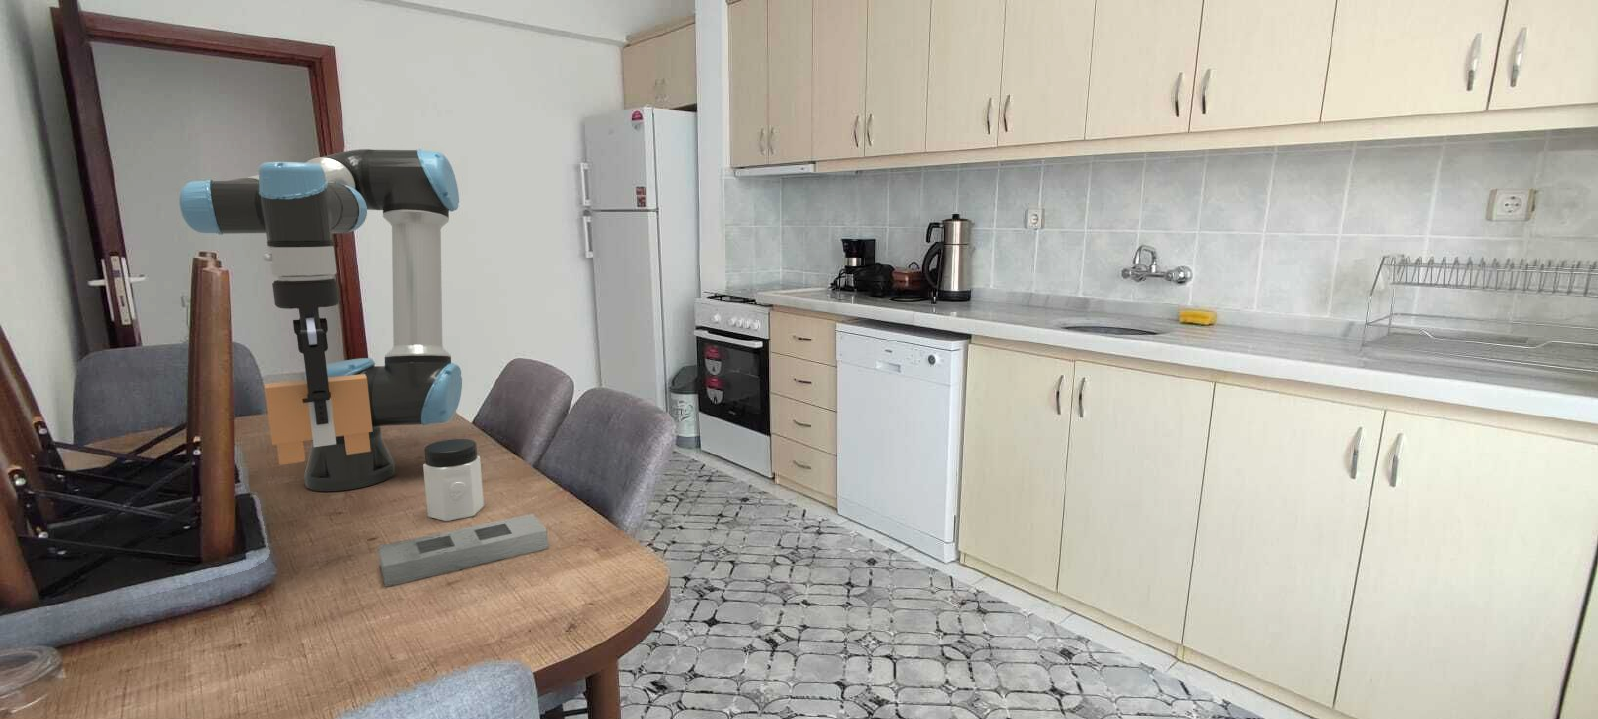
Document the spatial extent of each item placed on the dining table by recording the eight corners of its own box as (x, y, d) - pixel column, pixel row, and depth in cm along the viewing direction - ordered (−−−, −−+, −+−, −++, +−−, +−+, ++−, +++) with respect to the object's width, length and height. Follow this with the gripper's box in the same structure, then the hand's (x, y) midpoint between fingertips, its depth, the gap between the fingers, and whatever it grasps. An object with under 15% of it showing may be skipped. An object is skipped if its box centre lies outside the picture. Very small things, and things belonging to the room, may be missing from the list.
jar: (431, 525, 122) (424, 456, 120) (424, 509, 129) (418, 443, 126) (488, 513, 127) (483, 447, 125) (479, 499, 133) (474, 435, 131)
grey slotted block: (380, 565, 107) (377, 546, 107) (534, 530, 120) (533, 513, 119) (385, 587, 101) (383, 566, 100) (548, 548, 113) (546, 530, 113)
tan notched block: (275, 459, 104) (265, 383, 102) (372, 445, 111) (364, 374, 109) (274, 466, 101) (264, 388, 99) (374, 451, 108) (366, 378, 106)
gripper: (272, 275, 106) (293, 432, 110) (269, 283, 92) (292, 461, 97) (334, 273, 110) (351, 424, 114) (339, 280, 97) (358, 451, 101)
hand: (324, 441), depth 106 cm, fingers closed on tan notched block, 3 cm apart
